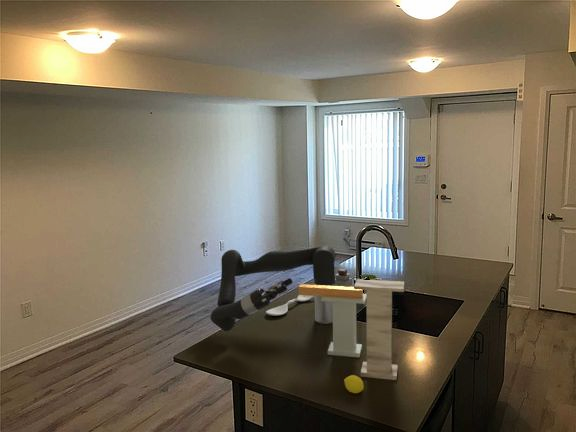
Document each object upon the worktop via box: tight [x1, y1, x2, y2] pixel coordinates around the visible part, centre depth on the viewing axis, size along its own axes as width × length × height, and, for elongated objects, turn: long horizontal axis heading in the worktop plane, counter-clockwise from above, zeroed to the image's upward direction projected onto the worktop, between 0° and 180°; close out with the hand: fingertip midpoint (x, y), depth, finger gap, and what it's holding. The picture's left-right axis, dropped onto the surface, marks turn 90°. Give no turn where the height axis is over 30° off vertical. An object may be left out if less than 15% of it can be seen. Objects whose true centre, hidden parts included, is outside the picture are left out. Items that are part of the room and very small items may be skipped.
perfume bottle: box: [335, 268, 353, 287], centre depth 229 cm, size 7×7×18 cm
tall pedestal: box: [353, 278, 405, 381], centre depth 163 cm, size 8×16×32 cm, turn 75°
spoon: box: [265, 294, 315, 316], centre depth 230 cm, size 9×32×4 cm, turn 143°
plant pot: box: [361, 273, 378, 294], centre depth 247 cm, size 9×9×9 cm
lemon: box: [343, 374, 364, 394], centre depth 153 cm, size 7×5×5 cm
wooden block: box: [298, 283, 364, 299], centre depth 180 cm, size 3×24×3 cm, turn 75°
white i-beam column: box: [321, 293, 367, 358], centre depth 180 cm, size 8×16×22 cm, turn 75°
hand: (288, 283), depth 183 cm, fingers open, 8 cm apart
